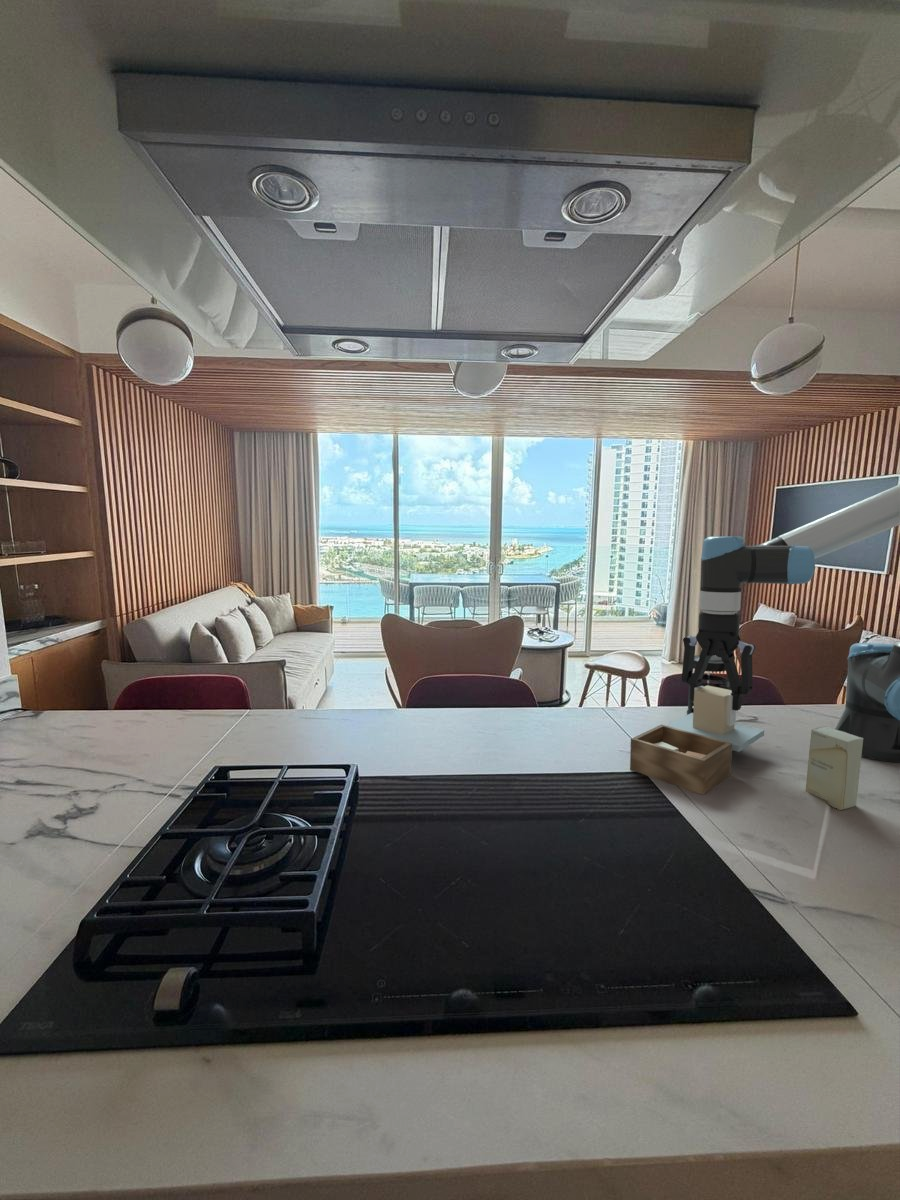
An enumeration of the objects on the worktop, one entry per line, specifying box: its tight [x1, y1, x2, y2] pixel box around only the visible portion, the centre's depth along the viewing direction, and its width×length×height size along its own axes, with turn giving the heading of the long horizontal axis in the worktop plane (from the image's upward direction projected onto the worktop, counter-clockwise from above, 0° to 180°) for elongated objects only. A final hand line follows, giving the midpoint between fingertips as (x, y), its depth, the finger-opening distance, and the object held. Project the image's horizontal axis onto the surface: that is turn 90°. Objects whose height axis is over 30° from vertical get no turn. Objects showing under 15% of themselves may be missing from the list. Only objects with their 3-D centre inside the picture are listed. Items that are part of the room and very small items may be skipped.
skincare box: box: [805, 725, 863, 811], centre depth 90 cm, size 6×4×12 cm
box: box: [629, 724, 733, 796], centre depth 100 cm, size 14×12×7 cm
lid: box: [664, 685, 765, 753], centre depth 109 cm, size 15×13×9 cm
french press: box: [686, 654, 730, 715], centre depth 125 cm, size 12×9×23 cm
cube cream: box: [655, 742, 679, 751], centre depth 103 cm, size 4×4×4 cm
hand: (713, 720), depth 109 cm, fingers closed on lid, 6 cm apart
